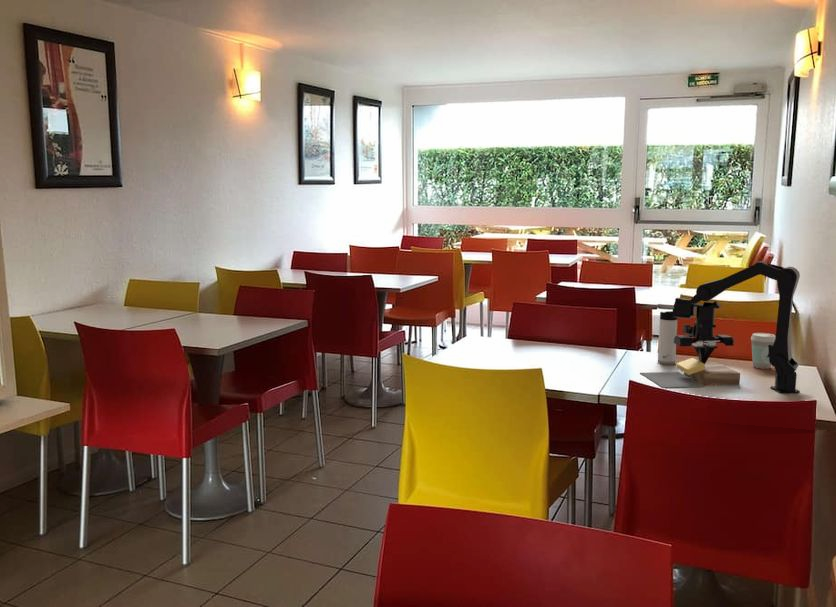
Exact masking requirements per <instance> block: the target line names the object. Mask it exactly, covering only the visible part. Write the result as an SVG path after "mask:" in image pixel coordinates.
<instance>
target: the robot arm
mask: <svg viewBox="0 0 836 607" xmlns="http://www.w3.org/2000/svg"><path fill="white" fill-rule="evenodd" d="M759 275H761V276H764V277H767V278H769V279H771V280H774V281H776V284H777V290H778V296H779V298H778V309H777V318H776V329H775V337H776V338H775V341H774V342H771V343H770V344H769V345H768V349H769V353H768V356H767V357H769V362H770V363H771V367H774V369H775V376H774V377H775V379H774V385H772V386H770V387H769V388H770V389H772V390H774V391H777V392H778V393H780V394H785V393H786V394H789V393H795V394H796V393H800V392H801V391H800V390H799V389H797V388H796V387H797V372H796V371H797V369H798V367H799V363H798V362H797V360H795V359H794V358H793V356H792V347H791V341H790V335H791V334H790V332H791V322H792V312H793V302H794V296H795V293H796V290H797V286H798V284H799V280H800V277H801V275H800V271H799V270H798V269H797V268H795V267H794V266H785V267H784V266H781V265H777V264H772V263H768V262H766V261H763V260H760V261H757V262H755V263H754V264H753V265H750V266H748V267H746V268H744V269H741V270H739V271H737V272H735V273H733V274H730V275H728V276H725V277H724V278H720V279H717V280H712V281H708V282H705V283H702V284H700V285H699V286H697V288H696V291H695V294H694V296H692V297H691V298H683V297H676V298H675V299H674V302H673V303H674V304H673V307H672V311H673V317H676V318H677V319H688V320H692V318H693V317H695V316H696V317H695V321H694V322H693V325H692V326H691V324H686V323H685V324H683V326H682V333H683V335H682V334H680V335H679V334H677V335H676V336H675V338H674V343H675V344H676V346H677V345H678V347H692V348H694V350H695V352H696V354H697V358H698V361H700V362H702V363H704V365H705V363H707V361H708V359H709V357H710V356H711V355H712V353H713V352H714V351H715V349H718V346H717V345H716V344H723V345H724V346H725V347H728V346H729V347H731V346H732V347H733V346H734V345H735V340H734V338H733V336H730V335H728V334H716V335H715V336H714V329H715V328H716V324H717V323H716V324H715V316H716V315H715V311H716V309H721V308H722V304H720V303H719V301H718V300H714V302H713V301H711V300H712V299H714V298H717V296H718V295H721V294H722V293H724V292H725V291H726V290H728V289H730V288H731V287H734V286H736V285H737V286H738V285H739V284H741V283H743V282H745V281H748V280H749V279H752V278H754V277H757V276H759ZM702 301H703V303H700V302H702ZM710 301H711V302H710Z"/></svg>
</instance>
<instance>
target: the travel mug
mask: <svg viewBox="0 0 836 607" xmlns="http://www.w3.org/2000/svg"><path fill="white" fill-rule="evenodd" d="M658 328H659V330H658V348H657V363H658V364H661V365H665V366H672V365H674V364H676V358H677V357H676V356H677V355H676V354H677V352H676V351H677V344H675V343H674V338H675V336H676V335H678V334H677V333H678V318H676V317H673V310H672V311H671V310H669V311H660V313H659V326H658Z"/></svg>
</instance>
